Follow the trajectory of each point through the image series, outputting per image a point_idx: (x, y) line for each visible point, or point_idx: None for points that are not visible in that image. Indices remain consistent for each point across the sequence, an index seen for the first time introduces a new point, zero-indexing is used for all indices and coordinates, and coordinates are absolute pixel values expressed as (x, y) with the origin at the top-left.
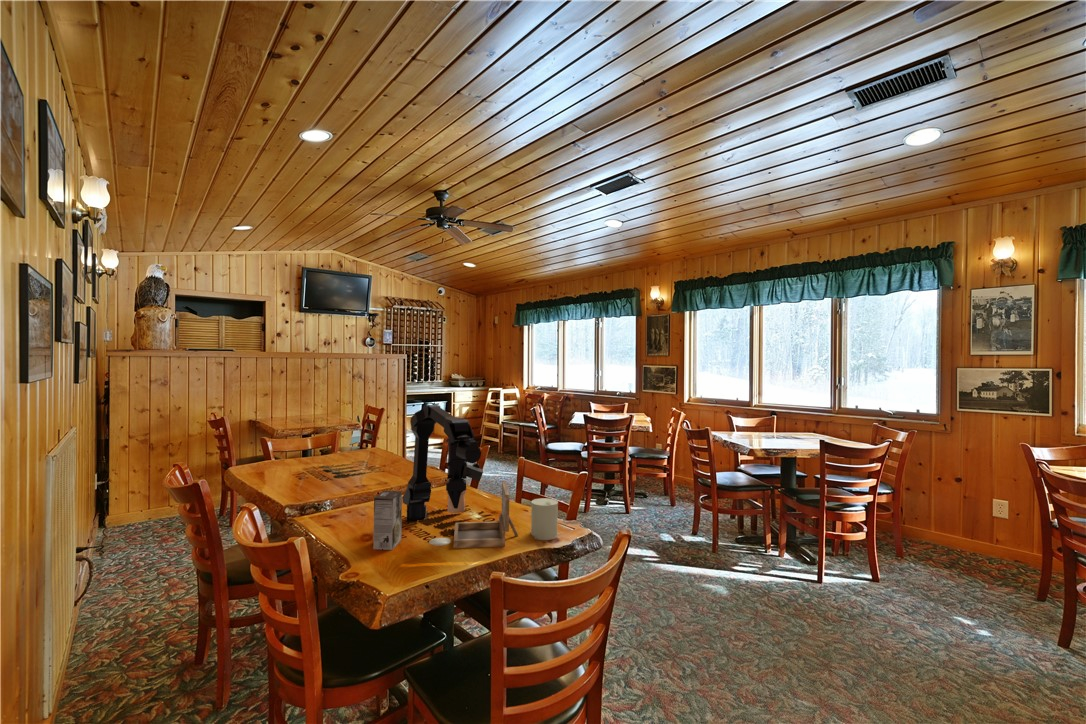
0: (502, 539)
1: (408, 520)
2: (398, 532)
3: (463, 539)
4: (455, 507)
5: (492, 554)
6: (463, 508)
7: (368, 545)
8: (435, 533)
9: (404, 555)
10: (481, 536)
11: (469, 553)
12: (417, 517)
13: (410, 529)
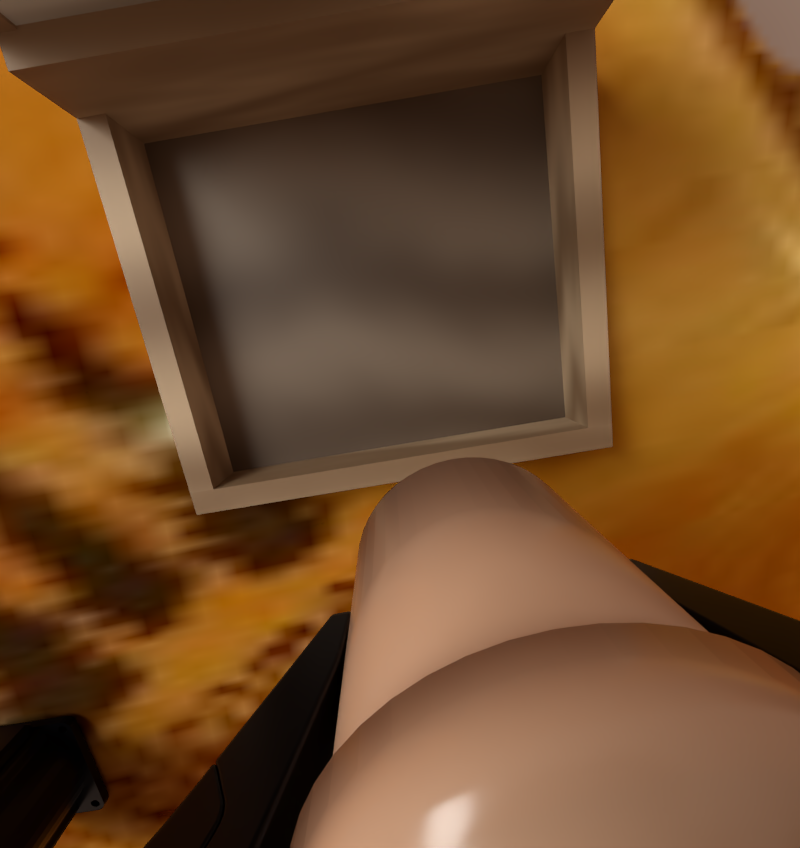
0: (593, 24)
1: (101, 795)
2: None
3: (589, 379)
4: None
5: (664, 148)
6: (523, 476)
7: None
8: (285, 597)
9: None
10: (357, 275)
11: (634, 318)
12: (61, 771)
13: None
